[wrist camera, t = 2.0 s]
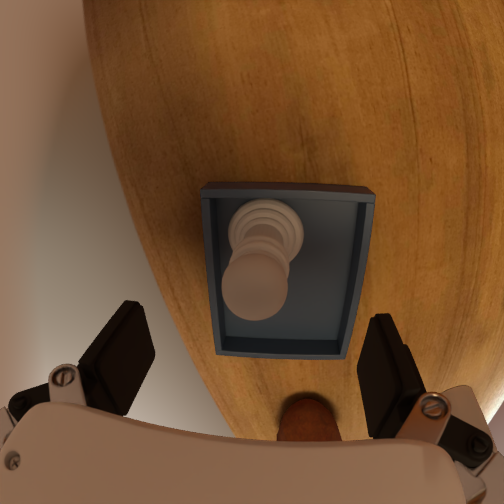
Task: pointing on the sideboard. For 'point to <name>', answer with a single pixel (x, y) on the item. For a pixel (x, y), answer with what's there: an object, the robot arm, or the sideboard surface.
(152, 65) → the sideboard surface
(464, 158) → the sideboard surface
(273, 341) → the tray
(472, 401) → the cup
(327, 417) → the potato
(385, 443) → the robot arm
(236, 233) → the chess piece
